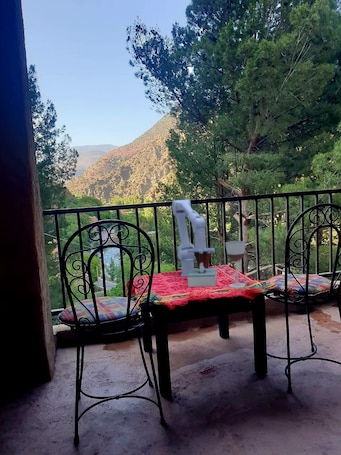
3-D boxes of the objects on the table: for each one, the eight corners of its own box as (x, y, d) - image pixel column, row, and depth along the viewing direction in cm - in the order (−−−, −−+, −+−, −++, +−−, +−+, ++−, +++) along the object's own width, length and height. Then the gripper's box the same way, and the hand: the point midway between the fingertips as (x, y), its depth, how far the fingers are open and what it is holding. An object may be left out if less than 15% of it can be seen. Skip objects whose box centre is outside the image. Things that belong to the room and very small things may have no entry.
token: (201, 271, 193) (200, 262, 193) (204, 271, 193) (203, 262, 192) (200, 274, 188) (199, 264, 188) (203, 274, 188) (203, 264, 187)
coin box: (191, 279, 199) (190, 269, 199) (216, 278, 197) (216, 268, 196) (188, 286, 186) (187, 275, 185) (215, 286, 183) (214, 274, 182)
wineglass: (230, 282, 188) (228, 240, 185) (249, 283, 183) (246, 240, 181) (225, 287, 180) (223, 243, 177) (244, 288, 176) (242, 243, 173)
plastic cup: (211, 271, 214) (210, 251, 213) (193, 272, 216) (192, 252, 215) (213, 267, 225) (212, 248, 223) (196, 267, 227) (194, 249, 225)
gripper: (185, 242, 186) (187, 268, 188) (213, 241, 183) (215, 267, 185) (187, 240, 193) (189, 265, 195) (214, 239, 190) (215, 264, 192)
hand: (201, 266), depth 190 cm, fingers closed on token, 2 cm apart
